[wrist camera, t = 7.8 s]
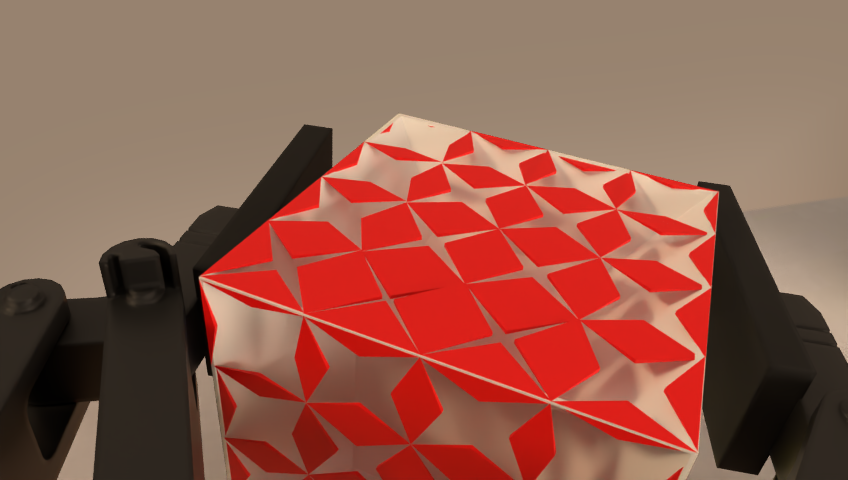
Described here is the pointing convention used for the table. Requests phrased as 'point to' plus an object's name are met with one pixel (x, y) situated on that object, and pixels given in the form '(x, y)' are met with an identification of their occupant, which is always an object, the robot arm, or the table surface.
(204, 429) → the table surface
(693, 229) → the red patterned cube
